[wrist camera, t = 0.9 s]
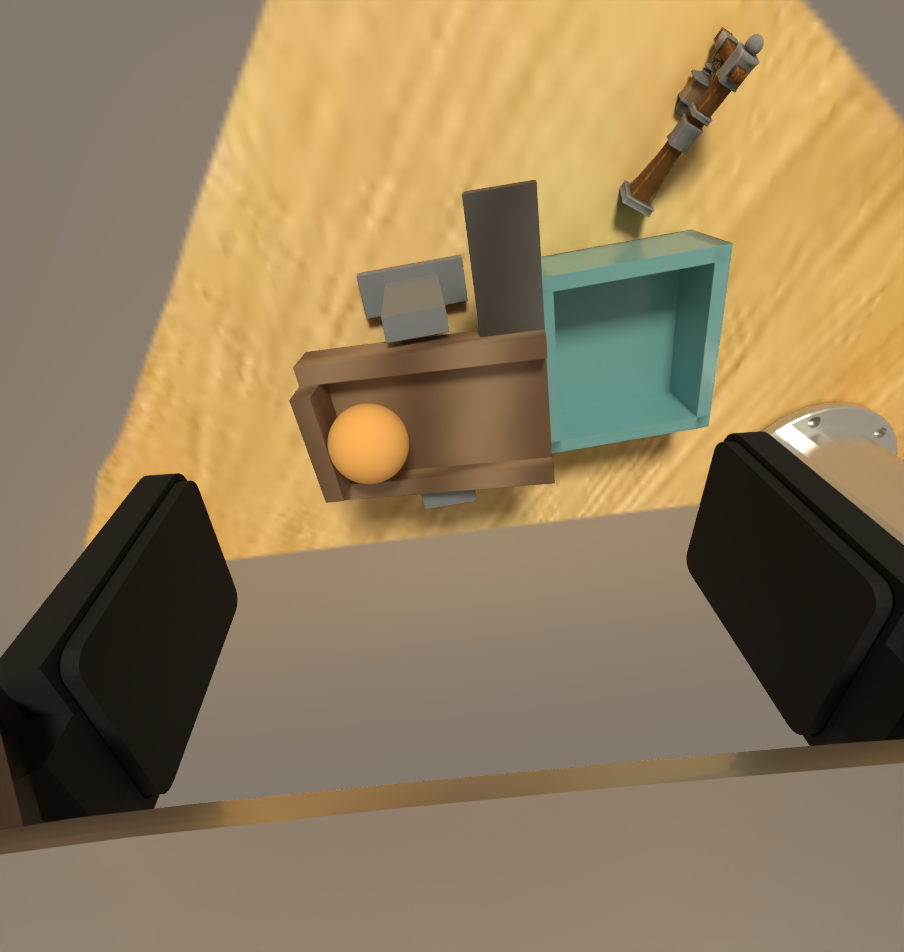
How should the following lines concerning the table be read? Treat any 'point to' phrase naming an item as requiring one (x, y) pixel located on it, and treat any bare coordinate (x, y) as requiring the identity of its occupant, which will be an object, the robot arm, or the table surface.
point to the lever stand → (417, 316)
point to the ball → (368, 443)
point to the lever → (453, 373)
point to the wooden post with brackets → (695, 113)
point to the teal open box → (633, 337)
